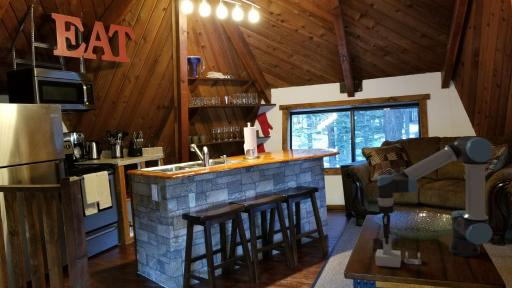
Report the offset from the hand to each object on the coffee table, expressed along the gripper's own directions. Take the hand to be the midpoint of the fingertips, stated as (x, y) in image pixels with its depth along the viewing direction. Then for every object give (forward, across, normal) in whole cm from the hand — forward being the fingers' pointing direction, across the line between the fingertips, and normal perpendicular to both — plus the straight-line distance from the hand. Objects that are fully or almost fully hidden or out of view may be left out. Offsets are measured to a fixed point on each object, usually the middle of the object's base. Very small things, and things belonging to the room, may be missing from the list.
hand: (387, 248), depth 210 cm
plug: (+2, 0, 0) cm, 2 cm away
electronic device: (+9, -19, -5) cm, 21 cm away
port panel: (+9, 0, 0) cm, 9 cm away
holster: (+9, -4, +12) cm, 16 cm away
